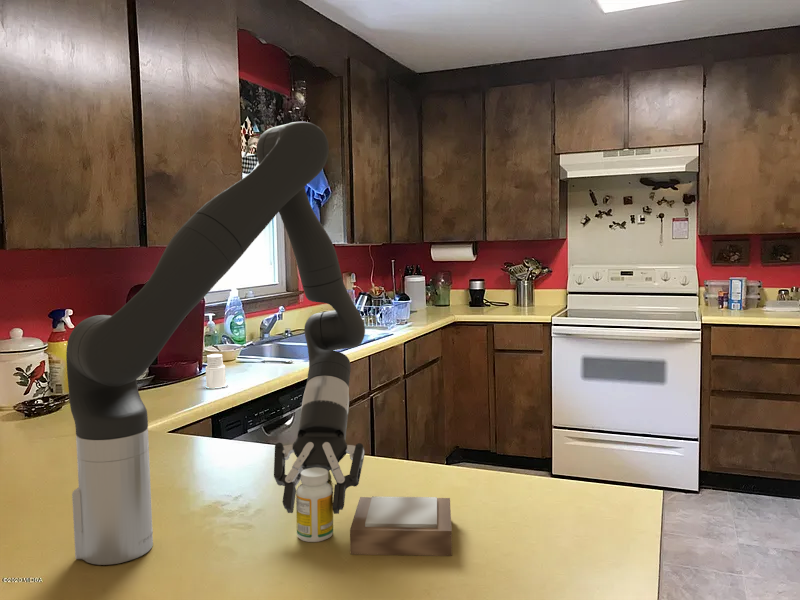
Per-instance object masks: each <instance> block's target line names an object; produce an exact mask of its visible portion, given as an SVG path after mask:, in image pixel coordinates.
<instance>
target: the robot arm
mask: <svg viewBox="0 0 800 600" xmlns="http://www.w3.org/2000/svg"><path fill="white" fill-rule="evenodd" d="M329 148H330V147H329V141H328V138H327V135H326V133H325V132H324V131H323V130H322V128H321V127H320V126H318V125H316V124H314V123H312V122H308V121H307V122H306V121H294V122H289V123H286V124H281V125H276V126H273V127H270V128H268V129H267V130H265V131H263V133H261V135H260V136H259V138H258V140H257V144H256V148H255V149H256V153H255V154H256V159H257V162H258V165H257V166H256V167H255V168H254V169H253V170H252V171H251V172H250V173H248V174H247V175H246V176H244V177H242V178H241V179H240V180H239V181H237V182H235V183H233V184H232V185H231V186H228V188H226V189H224V190H223V191H221V192H220V193H218V194H217V195H214V197H212V198H211V199H209V200H208V201H207V202H206V203H205V204H203V205H202V206H201V207H200V208H199V209H197V211H195V213H194V214H193V215H192V216H191V217H190V218H188V220H187V221H186V222H185V223H184V224H183V225H182V226H181V227H180V228H179V229H178V231H177V232H176V233H175V234H174V235H173V236H172V238H171V239H170V240H169V242H168V244H167V245H166V247H165V249H164V250H163V253H162V254H161V257H160V259H159V260H158V263H157V264H156V267H155V269H154V270H153V272H152V274H151V276H150V277H149V279H148V281H147V282H146V283H145V284H144V285H143V287H142V288H141V289H140V290H139V291H138V292H137V293H136V294H135V295H133V297H131V298H130V300H128V301H127V303H125V304H124V305H123V306H122V307H121V308H120V309H119V310H118V311H116V312H115V313H114V314H112V315H109V314H108V315H107V314H100V315H99V314H98V315H93V316H90V317H89V316H88V317H87V318H85V319H83V320H82V321H80V322H79V323H78V324H77V325H75V327H74V328H73V330H71V333H70V334H69V336H68V340H67V342H66V343H67V344H66V351H65V352H66V354H65V355H66V374H67V386H68V388H67V389H68V398H69V399H68V400H69V407H70V411H71V414H72V417H73V420H74V425H75V426H74V427H75V443H76V459H77V462H76V463H77V479H78V483H77V484H78V487H77V488H75V489H74V490H72V494H71V495H72V497H71V498H72V500H71V501H72V513H73V514H72V515H73V516H72V518H73V535H74V537H73V538H74V555H75V560H83V561H85V562H86V563H89V564H92V565H98V566H101V565H103V566H105V565H106V566H107V565H116V564H121V563H125V562H129V561H133V560H135V559H139V558H140V557H142V556H143V555H145V554H147V553H148V552H150V550H152V547H153V545H154V542H153V541H154V539H153V533H154V531H153V530H154V529H153V516H152V515H153V514H152V513H153V512H152V510H153V509H152V492H151V491H152V489H151V470H150V469H151V468H150V466H151V465H150V464H151V463H150V449H149V448H150V445H149V418H148V417H149V416H148V409H147V408H146V406H145V403H144V402H143V400H142V397H141V395H140V393H139V389H138V388H139V387H138V380H137V379H139V378H140V377H141V376H142V375H144V374H145V372H146V371H147V370H148V369H149V367H150V366H151V365H152V363H154V361H155V360H156V358H157V357H158V355H159V354H160V353H161V351H162V350H163V348H164V347H165V345H166V344H167V343H168V341H169V340H170V338H171V337H172V336H173V334H174V333H175V331H176V330H177V329H178V328H179V326H180V325H181V323H183V321H184V319H185V318H186V317H187V316H188V315H189V313H190V312H192V310H193V309H194V308H195V307H196V306H197V305H198V304H199V303H200V302H201V301H202V300H203V299H204V298H205V296H207V294H209V292H210V291H211V290H212V289H213V287H215V285H216V284H217V283H219V281H220V280H221V279H222V278H223V277H224V276H225V275H226V274H227V273H228V272H229V270H230V269H231V268H232V267H233V266H234V265H235V264H236V263H237V261H238V260H239V259H240V258H241V257H242V256H243V255H244V253H245V252H246V251H247V250H248V248H249V247H250V246H251V245H252V244H253V242H254V241H255V240H256V239H257V238H258V236H260V235H261V234H262V232H263V231H264V230H265V229H266V227H268V225H270V223H271V221H272V220H273V219H274V218H275V217H276V215H277V214H278V213H279V216H280V218H281V221H282V223H283V225H284V228H285V230H286V234H287V236H288V239H289V241H290V245H291V248H292V251H293V254H294V259H295V262H296V265H297V270H298V274H299V277H300V281H301V286H302V288H303V293H304V296H305V297H306V299H307V300H308V301H309V302H314V303H323V304H328V305H329V306H331V307H332V308H333V309H334V310H329V311H323V312H316V313H313V314H311V315H310V316H309V317H308V318H307V320H306V322H305V324H304V329H303V330H304V337H305V342H306V347H307V355H308V370H307V371H308V372H307V378H306V385H305V389H304V393H303V396H302V400H301V401H302V402H301V409H300V417H299V423H298V430H297V437H296V439H295V441H294V442H293V444H285V445H284V444H283V443H282V442H277V443H275V445H274V460H273V461H274V463H273V478H274V480H275V482H276V485H278V486H279V487H280V486H283V487H284V490H283V496H282V501H281V502H282V505H283V507H284V510H286V513H287V514H293V513H294V508H295V504H296V503H295V501H296V491H297V488H296V487H297V486H298V485H299V483H300V482H301V472H302V471H303V470H305V469H308V468H315V467H316V468H324V469H326V470H327V471H328V472H329V471H330V473H331V474H332V476H333V478H334V480H335V483H336V484H334V488H333V515H334V514H340V510H341V511H342V510H344V508H345V499H346V497H345V496H346V490H347V489H348V488H349V487H355V488H356V487H357V486H359V484H360V479H361V478H360V477H361V474H362V469H363V464H364V460H365V459H364V458H365V455H366V454H365V447H364V445H363V444H362V443H360V442H359V443H356V444H355V445H354V444H347V441H346V440H347V439H346V437H347V426H348V418H349V417H348V416H349V413H350V412H349V411H350V407H349V405H350V394H349V390H350V389H349V388H350V381H351V379H350V378H351V366H352V365H351V360H350V358H349V357H348V356H347V355H346V354H344V353H343V352H340V351H338V350H345V349H346V350H347V349H354V348H357V347H358V346H360V345H361V344H362V342H363V341H364V338H365V335H366V328H365V323H364V321H363V318H362V316H361V314H360V312H359V309H358V308H357V306H356V305H355V302H354V301H353V300H352V297H351V296H350V294H349V292H348V290H347V289H348V288H347V287H346V285H345V282H344V279H343V275H342V272H341V271H342V270H341V268H340V262H339V259H338V255H337V251H336V248H335V246H334V244H333V242H332V239H331V238H330V236H329V235H328V232H327V231H326V229H325V227H324V226H323V225H322V223H321V222H320V220H319V219H318V217H317V215H316V213H315V211H314V209H313V207H312V205H311V202H310V201H309V198H308V194H307V191H306V187H307V185H308V184H310V183H311V182H312V180H314V179H315V178H316V177H317V176H318V175H320V173H321V172H322V170H323V169H324V167H325V166H326V164H327V161H328V158H329V152H330V151H329V150H330V149H329ZM291 454H294V455H295V456H296V460H295V461H294V463H293V464H292V466H291V469H290V471H289V472H288V473H287V474H286V461H287V460H289V459H290V456H291ZM347 454H349V459H350V461H351V465H350V470H349V474H347V475H344V473H343V471H342V469H341V466H340V464H339V463H340V462H341V461H342V460H343V458H344V457H345V456H346V455H347Z"/></svg>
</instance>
